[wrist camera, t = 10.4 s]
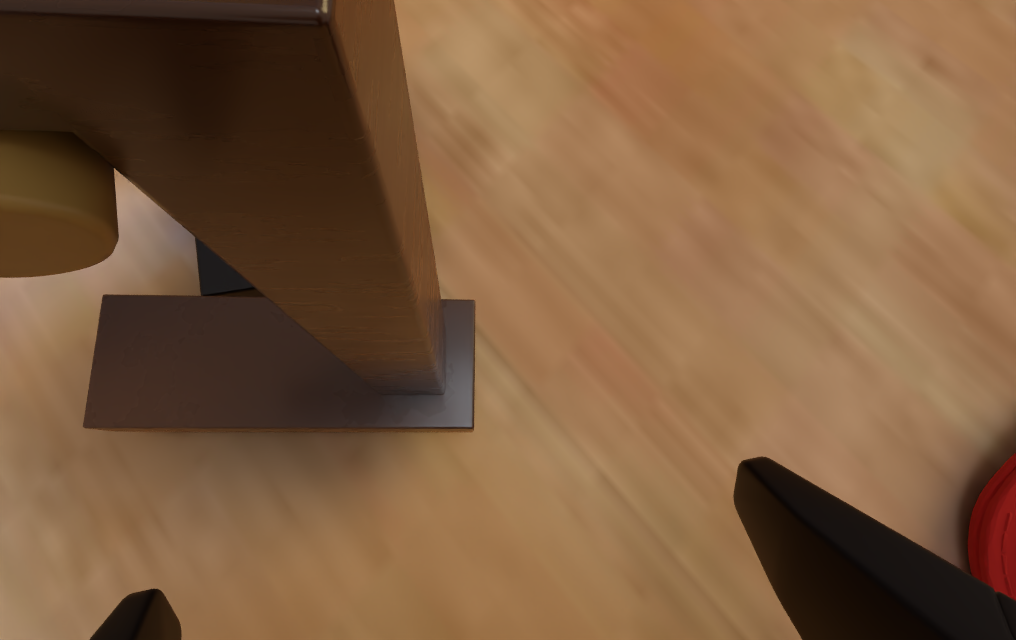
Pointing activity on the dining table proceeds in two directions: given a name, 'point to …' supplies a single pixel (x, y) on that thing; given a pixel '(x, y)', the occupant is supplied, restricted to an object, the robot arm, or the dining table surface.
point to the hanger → (256, 211)
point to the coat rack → (72, 212)
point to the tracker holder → (995, 532)
